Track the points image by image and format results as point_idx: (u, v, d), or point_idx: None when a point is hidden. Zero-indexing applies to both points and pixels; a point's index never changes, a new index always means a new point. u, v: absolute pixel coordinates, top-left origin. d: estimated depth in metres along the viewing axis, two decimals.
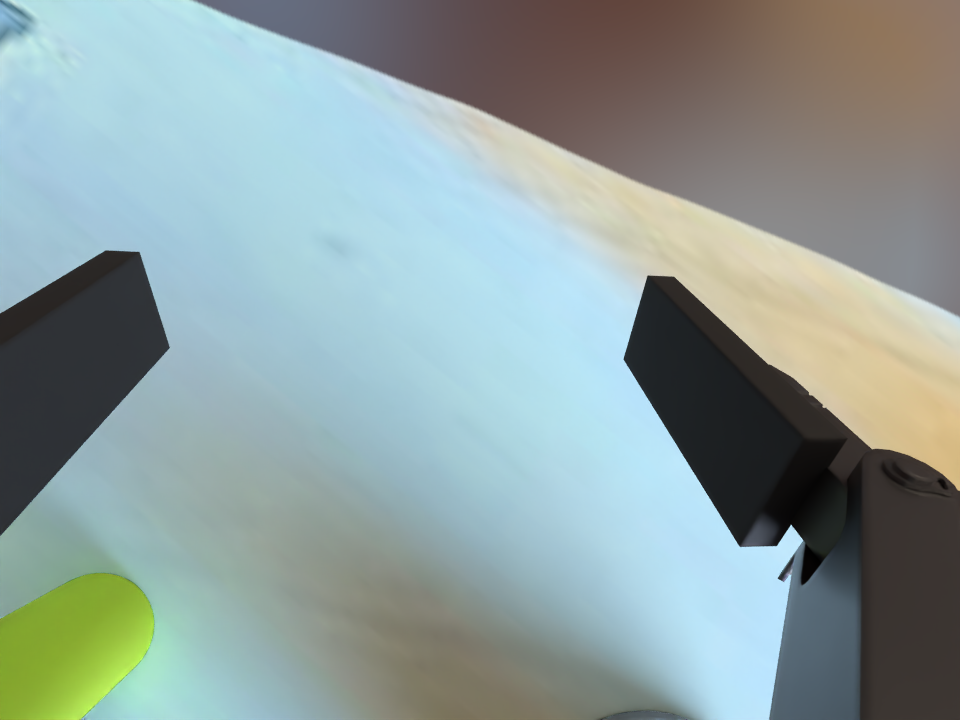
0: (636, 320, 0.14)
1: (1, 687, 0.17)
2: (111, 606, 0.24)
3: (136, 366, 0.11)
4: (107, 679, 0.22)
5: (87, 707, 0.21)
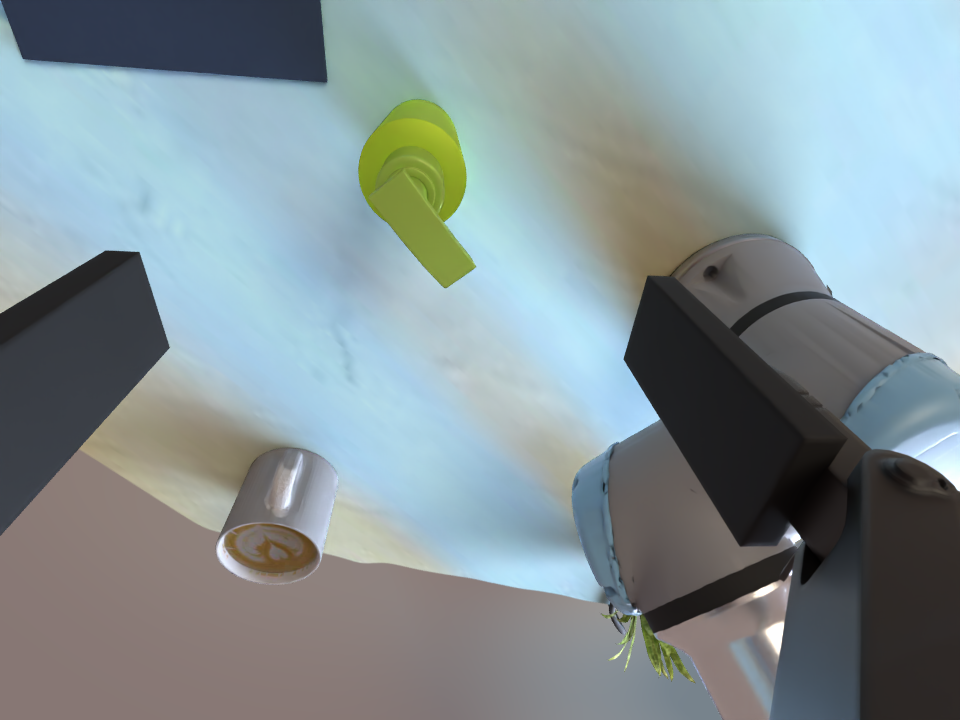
0: (636, 320, 0.14)
1: (451, 129, 0.29)
2: (447, 117, 0.34)
3: (136, 366, 0.11)
4: None
5: None
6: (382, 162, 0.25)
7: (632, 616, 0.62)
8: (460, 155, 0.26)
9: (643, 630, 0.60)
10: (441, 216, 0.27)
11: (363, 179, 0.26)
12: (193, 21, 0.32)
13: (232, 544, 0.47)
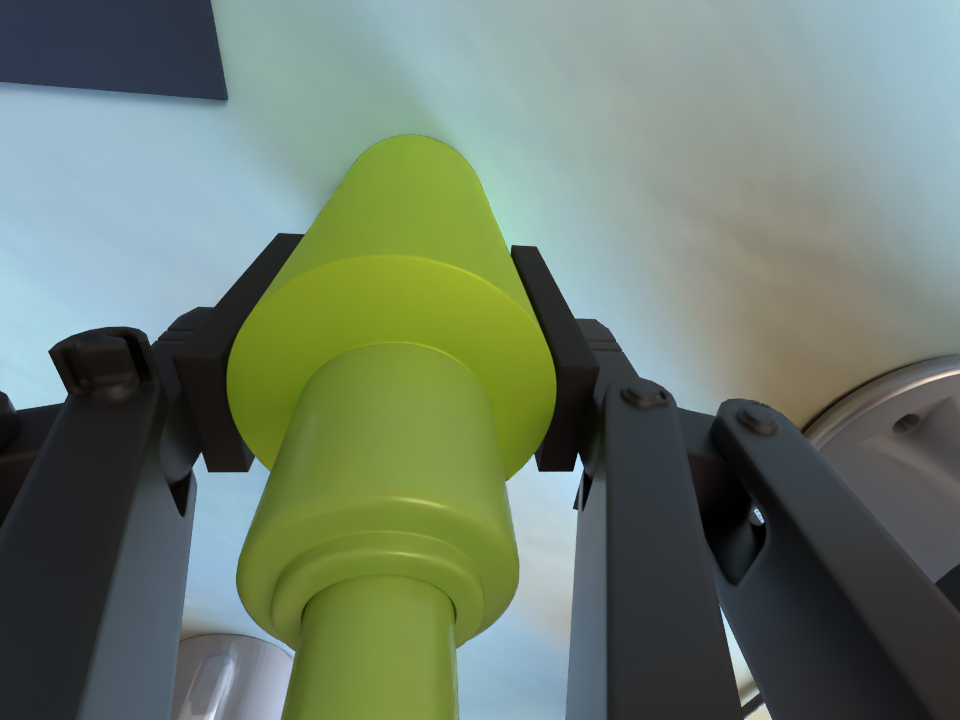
0: None
1: (495, 229, 0.12)
2: (471, 173, 0.17)
3: None
4: None
5: None
6: (299, 384, 0.08)
7: None
8: (545, 352, 0.08)
9: None
10: None
11: (245, 420, 0.08)
12: None
13: None
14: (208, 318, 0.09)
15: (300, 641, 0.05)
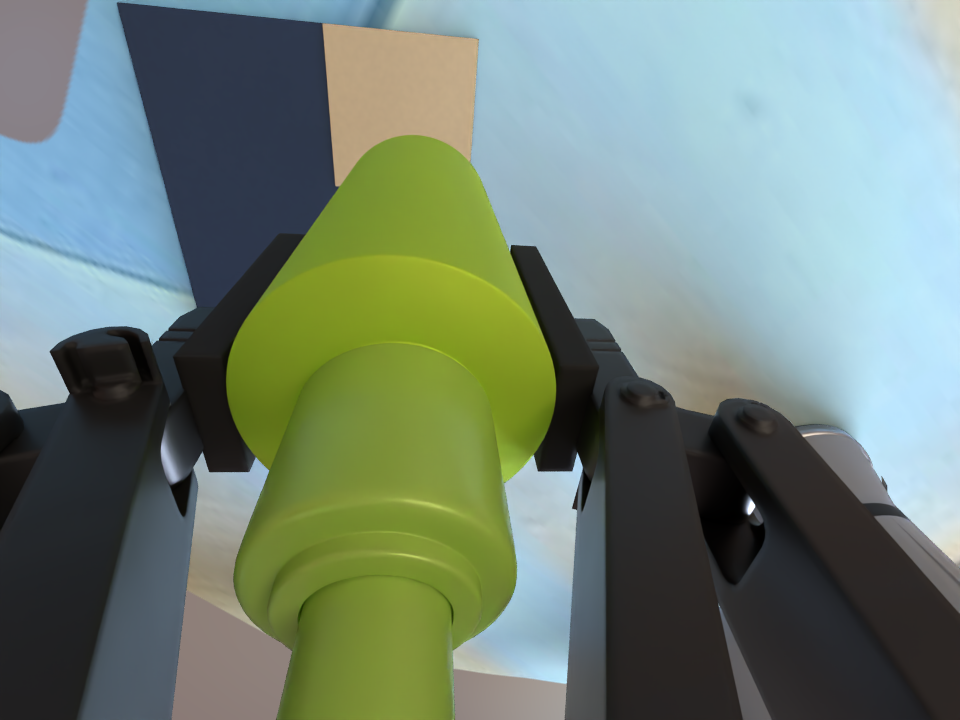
0: None
1: (495, 230, 0.12)
2: (473, 173, 0.17)
3: None
4: None
5: None
6: (298, 384, 0.08)
7: None
8: (544, 353, 0.08)
9: None
10: None
11: (245, 420, 0.08)
12: None
13: None
14: (209, 318, 0.09)
15: (296, 641, 0.05)
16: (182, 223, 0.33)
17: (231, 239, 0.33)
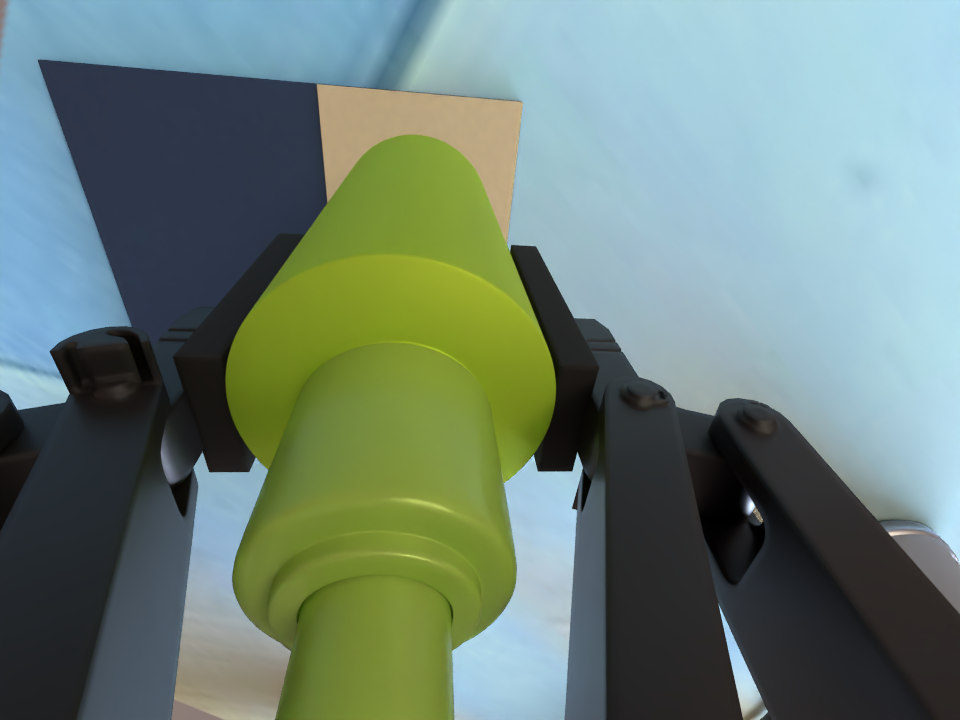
0: None
1: (495, 229, 0.12)
2: (473, 173, 0.17)
3: None
4: None
5: None
6: (297, 384, 0.08)
7: None
8: (544, 352, 0.08)
9: None
10: None
11: (244, 420, 0.08)
12: None
13: None
14: (209, 318, 0.09)
15: (295, 641, 0.05)
16: (141, 324, 0.26)
17: None
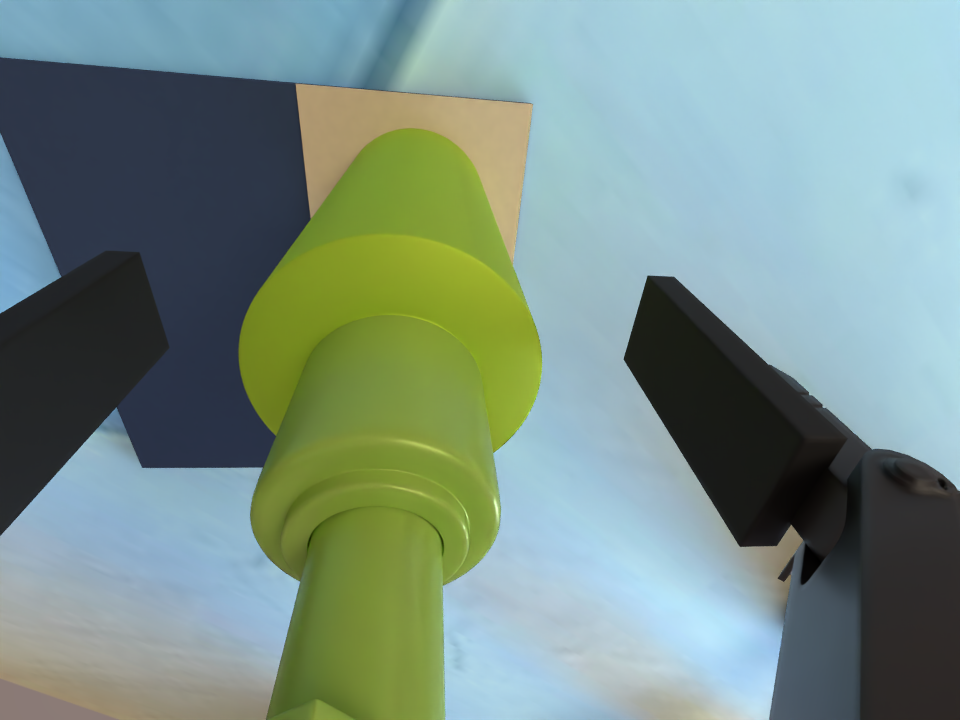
0: (636, 320, 0.14)
1: (489, 216, 0.12)
2: (469, 165, 0.18)
3: (136, 366, 0.11)
4: None
5: None
6: (304, 354, 0.09)
7: None
8: (531, 326, 0.09)
9: None
10: None
11: (255, 388, 0.09)
12: None
13: None
14: None
15: (307, 561, 0.06)
16: None
17: (175, 370, 0.24)
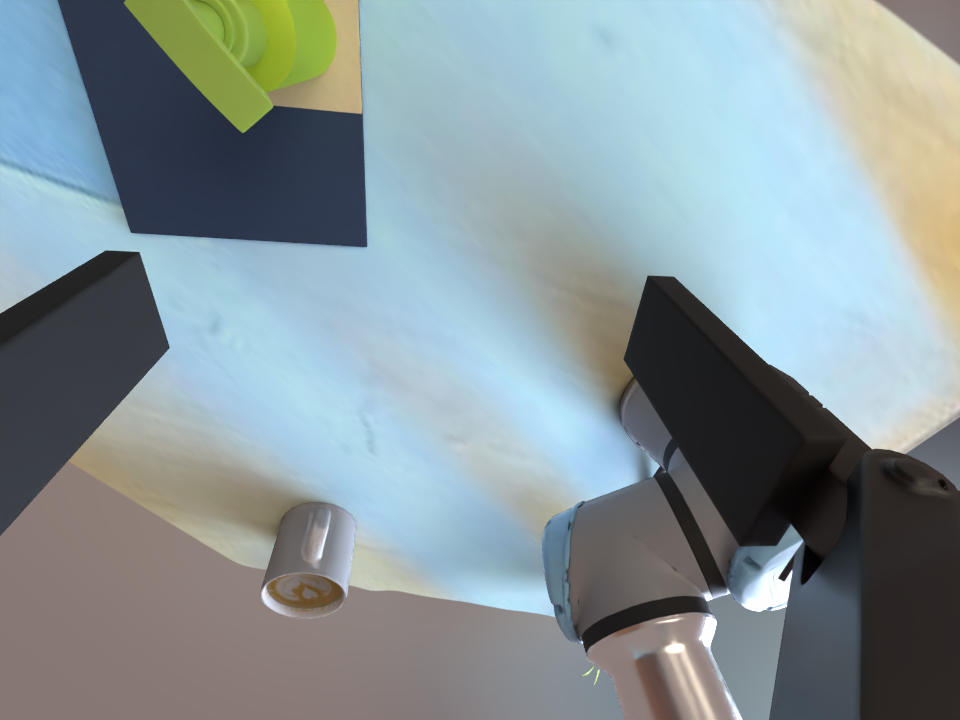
0: (636, 320, 0.14)
1: None
2: None
3: (136, 366, 0.11)
4: (328, 47, 0.32)
5: (322, 59, 0.31)
6: None
7: None
8: (284, 2, 0.23)
9: None
10: (272, 78, 0.25)
11: None
12: (266, 208, 0.41)
13: (272, 587, 0.57)
14: None
15: None
16: (106, 134, 0.37)
17: (152, 151, 0.38)
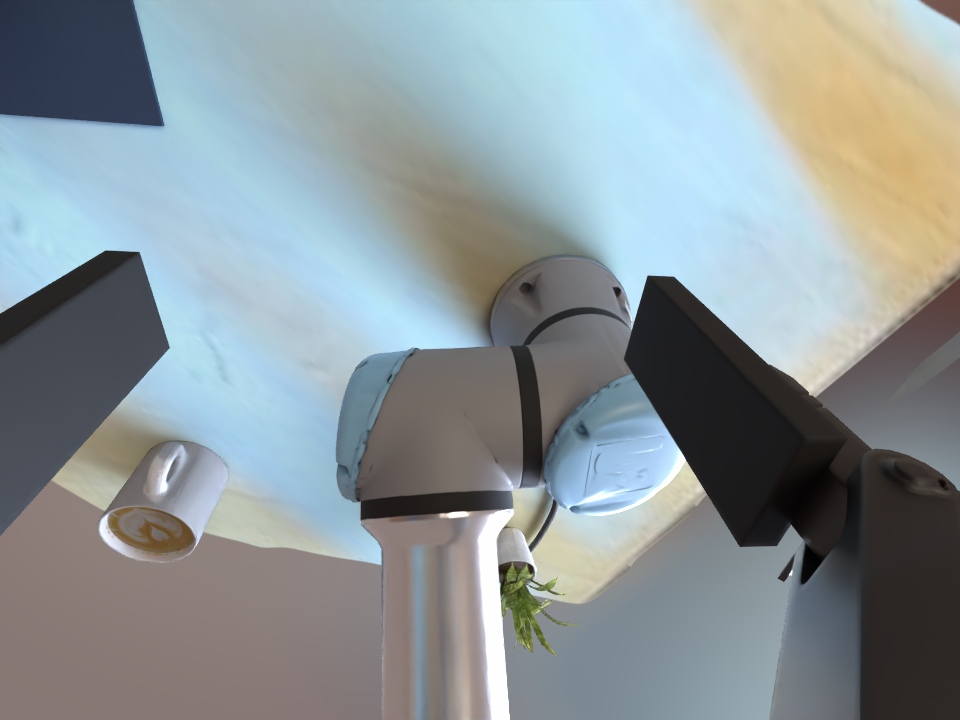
0: (636, 320, 0.14)
1: None
2: None
3: (136, 366, 0.11)
4: None
5: None
6: None
7: (505, 596, 0.68)
8: None
9: (513, 608, 0.67)
10: None
11: None
12: (38, 75, 0.37)
13: (115, 525, 0.53)
14: None
15: None
16: None
17: None
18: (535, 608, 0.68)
